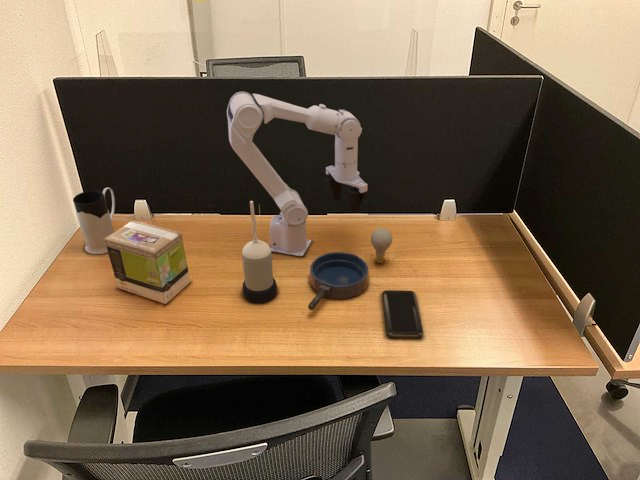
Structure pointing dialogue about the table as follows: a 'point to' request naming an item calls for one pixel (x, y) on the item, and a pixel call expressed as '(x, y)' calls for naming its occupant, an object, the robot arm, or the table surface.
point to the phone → (401, 314)
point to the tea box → (148, 260)
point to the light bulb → (381, 242)
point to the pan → (339, 274)
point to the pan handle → (319, 296)
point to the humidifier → (258, 268)
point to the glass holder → (94, 219)
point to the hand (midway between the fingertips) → (345, 206)
